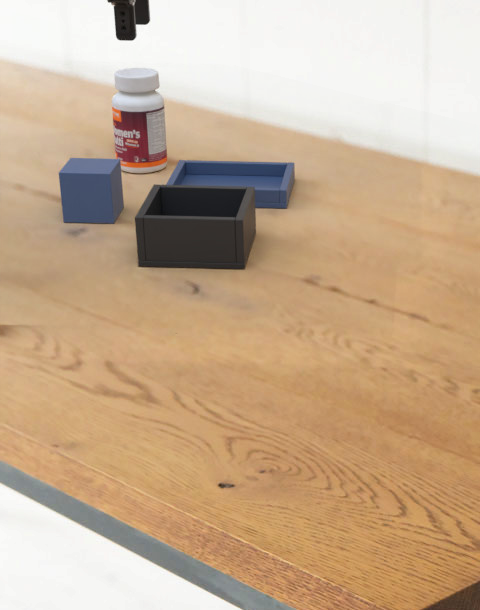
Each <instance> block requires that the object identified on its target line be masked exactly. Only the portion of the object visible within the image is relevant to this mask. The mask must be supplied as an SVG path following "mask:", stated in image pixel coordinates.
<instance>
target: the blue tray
mask: <svg viewBox="0 0 480 610" xmlns="http://www.w3.org/2000/svg"><path fill="white" fill-rule="evenodd" d="M295 170H296V169H295V162H292V161H291V162H288V161H287V162H283V161H281V162H279V161H243V160H242V161H238V160H237V161H236V160H201V159H199V160H197V159H196V160H194V159H193V160H192V159H179V160H178V162H177V163H176V165H175V167H174V169H173V171H172V172H171V175H170V177H169V178H168V180H167V182H166V184H165V185H199V186H242V187H255V209H256V208H257V209H287V208H288V204H289V202H290V198H291V194H292V190H293V187H294V184H295V179H296V178H295V174H296V173H295Z"/></svg>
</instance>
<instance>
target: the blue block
mask: <svg viewBox="0 0 480 610" xmlns="http://www.w3.org/2000/svg"><path fill="white" fill-rule="evenodd" d="M58 180H59V191H60V200H61V212H62V222H63V223H71V224H73V223H74V224H110V225H111V224H115V223H116V221H117V220H118V218H119V216H120V214H121V213H122V211H123V209H124V208H125V203H124V202H125V201H124V191H123V178H122V170H121V162H120V159H116V158H97V157H96V158H93V157H92V158H91V157H90V158H89V157H70V158H69V159H68V160H67V161H66V163H65V164H64V165H63V166H62V168H61V169H60V170H59V172H58Z"/></svg>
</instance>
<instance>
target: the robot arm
mask: <svg viewBox="0 0 480 610" xmlns="http://www.w3.org/2000/svg"><path fill="white" fill-rule="evenodd" d="M106 1H107V3H109V4H111V6H113V15H114V29H115V38H116V39H117V40H118V41H122V42H123V41H126V42H127V41H130V42H132V41H134V40H136V39H137V36H138V35H137V34H138V33H137V25H138V26H139V25H140V26H146V25H148V24H149V23H150V22H151V12H150V11H151V10H150V0H106Z"/></svg>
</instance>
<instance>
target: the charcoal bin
mask: <svg viewBox="0 0 480 610" xmlns="http://www.w3.org/2000/svg"><path fill="white" fill-rule="evenodd" d="M144 199H145V200H144V201H143V203H142V204H141V206H140V208H139V210H138V211H137V213H136V215H135V216H134V224H135V225H134V226H135V237H136V252H137V265H138V267H141V268H143V267H146V268H147V267H148V268H180V269H181V268H185V269H189V268H190V269H223V270H225V269H227V270H245V269H246V266H247V263H248V260H249V256H250V253H251V250H252V247H253V243H254V241H255V238H256V236H257V235H256V234H257V216H256V215H257V214H256V213H257V212H256V208H255V187H242V186H199V185H166V184H153V185H152V187H151V188H150V190H149V192H148V194H147V196H146V198H144Z"/></svg>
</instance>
